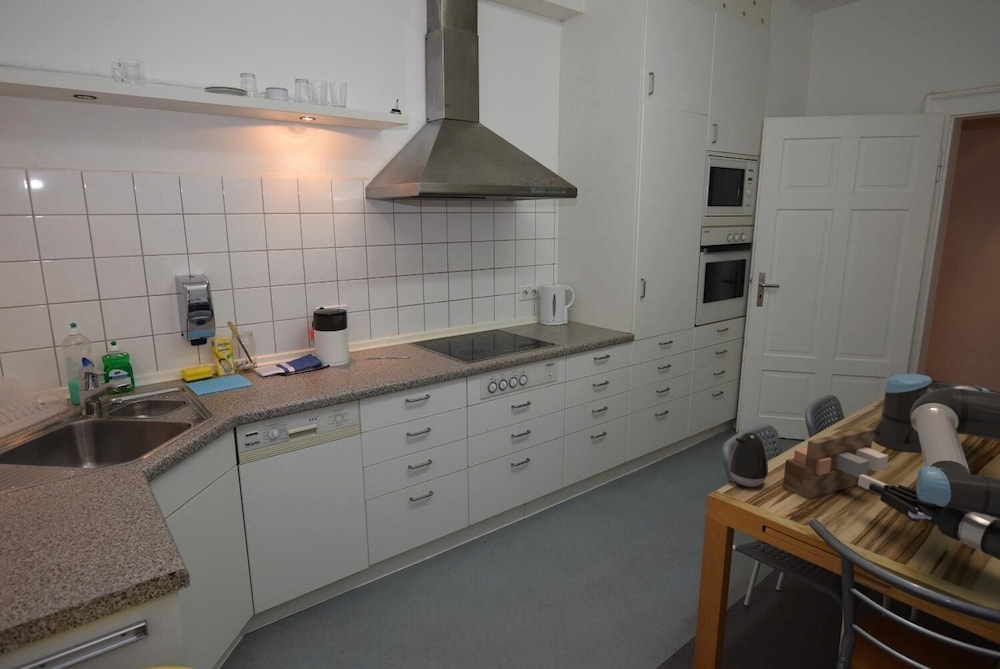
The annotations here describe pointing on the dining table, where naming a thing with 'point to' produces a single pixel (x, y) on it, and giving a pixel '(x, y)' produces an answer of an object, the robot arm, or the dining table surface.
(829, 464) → the key terracotta
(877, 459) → the key ivory
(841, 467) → the key slate
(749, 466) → the black penguin figurine
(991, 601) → the dining table surface
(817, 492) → the key board
